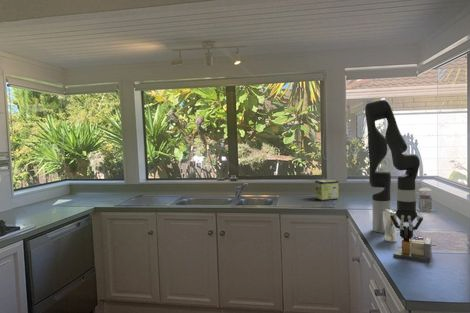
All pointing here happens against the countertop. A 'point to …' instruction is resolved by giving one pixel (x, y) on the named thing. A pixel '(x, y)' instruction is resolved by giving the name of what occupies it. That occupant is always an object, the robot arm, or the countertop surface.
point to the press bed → (423, 258)
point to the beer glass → (389, 225)
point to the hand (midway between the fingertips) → (406, 237)
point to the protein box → (326, 190)
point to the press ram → (406, 240)
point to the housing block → (417, 247)
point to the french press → (425, 198)
